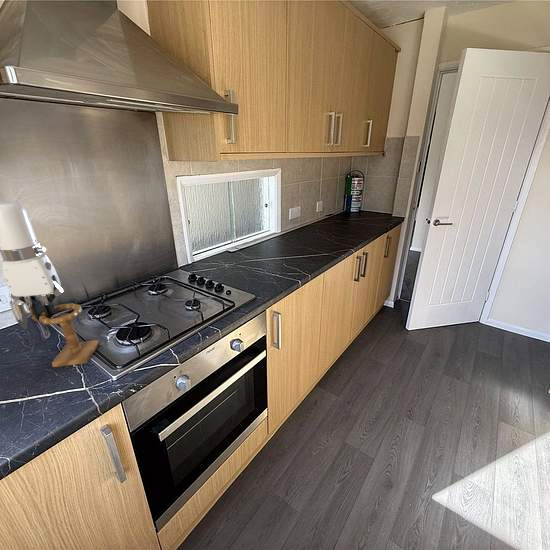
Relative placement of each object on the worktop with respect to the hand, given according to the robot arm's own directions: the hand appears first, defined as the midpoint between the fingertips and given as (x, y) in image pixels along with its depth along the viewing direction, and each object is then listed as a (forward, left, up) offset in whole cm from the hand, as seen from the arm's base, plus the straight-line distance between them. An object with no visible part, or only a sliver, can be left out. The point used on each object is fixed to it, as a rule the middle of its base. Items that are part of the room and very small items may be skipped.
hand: (46, 315), depth 80 cm
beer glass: (-11, +10, -14) cm, 20 cm away
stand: (+4, 0, -14) cm, 14 cm away
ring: (+4, 0, 0) cm, 4 cm away
